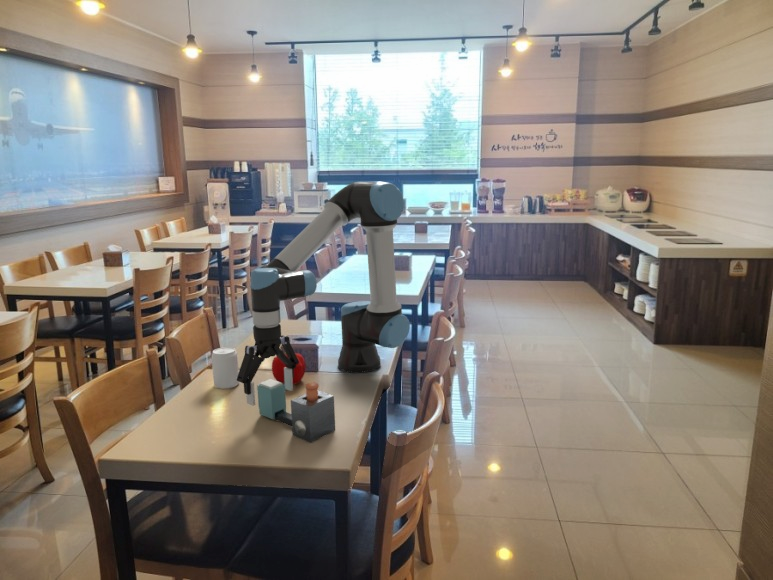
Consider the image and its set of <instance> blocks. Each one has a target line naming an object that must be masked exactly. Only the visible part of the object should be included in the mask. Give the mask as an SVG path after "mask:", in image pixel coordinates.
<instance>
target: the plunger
mask: <svg viewBox="0 0 773 580" xmlns="http://www.w3.org/2000/svg"><path fill="white" fill-rule="evenodd" d="M304 387H305V391H306V393H305V394H307V401H310V402H314V401H316V400H318V390H319V383H318V382H308V383H306V384H305V386H304Z"/></svg>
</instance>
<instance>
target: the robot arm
mask: <svg viewBox="0 0 773 580" xmlns="http://www.w3.org/2000/svg"><path fill="white" fill-rule="evenodd" d="M323 207H324V209H323V210H321V212H320V213H319V214H318V215H316V217H315V218H313V219H312V221H310V223H308V224H307V226H306V227H304V229H303V230H301V232H299V233H298V235H296V236H295V238H293V239H292V240H291V241H290V242H289V243H288V244H287V246H285V247H284V248H283V249H282V250H281V251H280V252H279V253H278V254H277V255H276V256H274V258H273V259H272V260H271V261H270V262H269V263H268V264H262V265H259V266H257V267H256V268H255V269H252V271H251V273H250V280H249V281H250V285H249V288H250V295H251V296H250V297H251V314H252V324H253V327H252V331H253V332H252V333H253V340H254V345H251V346H249V345H245V348H244V356H243V360H242V361H241V365H240V368H239V374H238V377H237V381H238V382H239V383H242V384H243V391H244V394H246V404H247V405H250V406H253V407H254V406H256V394H255V393H256V392H255V391H256V390H255V382H253V380H254V377H255V376H256V374H257V372H258V370H259V368H260V367H261V365H262V363H263V362H264V361H265V360H266V359H269V358H271V357H276V356H277V357H278V358H279V359H280V360H281V361H282V362H283V363H284V364H285V365H286V366H287V367H285V368H284V380H285V384H284V385H285V390H288V391H291V392H292V391H294V384H293V378H294V369H295V368H296V364H299V360H298V358H297V356H296V354H295V353H296V352H295V351H294V348H293V346H292V344H291V341H290V340H291V339H290V337H289V336H287V335H283V334H282V327H281V324H280V323H281V321H282V319H281V318H282V317H281V302H282V301H287V300H294V299H299V298H305V297H306V298H307V297H308V296H312V295H313V294H315V293H316V290H317V285H318V284H317V277H316V276H315V274H314V273H313V272H312V271H311V270H309V269H306V270H299V269H300V268H301V267H302V266H303V265H304V264H305V263H306V262H307V261H308V260H309V259H310V258H311V257H312V256H313V255H314V254H315V253H316V252H317V250H319V249H320V247H322V246H323V245H324V244H325V243H326V242H327V241H328V239H330V238H331V237H332V236H333V234H334V233H335V232H336V231H337V230H338V229H339V228H341V227H345V226H346V225H347V224H348V223H350V222H351V221H352V220H354V219H355V220H356V219H360V226H361V228H362V229H364V231H365V233H366V234H365V235H366V246H367V247H366V249H367V265H368V279H369V281H368V282H369V294H370V298H369V299H370V300H359V301H353V302H348V303H345V304H344V305H342V307H341V312H340V321H341V322H340V323H341V340H342V341H341V342H342V343H341V344H342V345H341V349H340V353H339V356H338V359H337V364H338V365H337V366H338V368H339V369H340V370H341V371H343V372H347V371H348V373H356V372H359V373H368V372H372V371H375V370H377V369H379V368H380V367H381V363H382V362H381V357H380V355H379V353H378V349H377V345H378V346H380V347H382V348H389V349H395V348H398V347H400V346H402V344H403V343H404V342H405V340H406V339H407V338H408V335H409V333H410V329H411V325H410V320H409V318H408V317H407V316H406V315H404V314H403V309H402V304H401V303H399V301H397V286H396V285H397V284H396V283H397V281H396V265H395V262H396V261H395V246H394V244H395V243H394V228H396V226H397V225H398V219H399V218H400V217H401V215H402V214H403V211H404V208H405V200H404V196H403V193H402V192H401V190H400V188H398V187H397V186H396V185H395V184H394V183H391V182H388V181H387V182H385V181H380V180H379V181H356V182H355V181H354V182H352V183H349V184H347V185H346V186H344V187H343V188H341V189H340V190H339V191H337V192H336V193H335V194H334V195H333V196H332V197H331V198H329V199H328V200H327V201H326V202H325V204H324V206H323ZM281 346H282V348H283V350H284V351H283V350H282V349H281V348H280V347H281ZM283 352H284V353H286V354H287V356H288V357H287V356H286V355H285V354H284V353H283Z"/></svg>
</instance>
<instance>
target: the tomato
mask: <svg viewBox="0 0 773 580" xmlns="http://www.w3.org/2000/svg"><path fill="white" fill-rule="evenodd" d="M283 353H284V354H285V355H286V356H287V354H286V352H285V351H283ZM295 354H296V356H297V358H298V360H299V364H296V368H295V369H294V378H293V385H297V384H299V383H300V382H301V381H302V379H303V378H304V375H305V373H306V361H305V358H304V357H303V355H302V354H301V353H297V352H295ZM287 357H288V356H287ZM285 367H287V366H286V365H285V364H284V363H283V362H282V361H281V360H280V359H279V358H278V357H277V356H276V355H275V356H274V358H273V359H272V363H271V372H272V376H273V378H274V380H275V381H278V382H281V383H282V384H284V385H285V380H284V368H285Z"/></svg>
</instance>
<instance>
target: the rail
mask: <svg viewBox="0 0 773 580" xmlns="http://www.w3.org/2000/svg"><path fill="white" fill-rule="evenodd" d="M274 420H276V421H277V422H280V423H282V424H284V425H287V426H289V427H292V415H291V412H290V413H289V412H287V411H286V412H284V411H282V410H280V411H277V412H275V419H274Z"/></svg>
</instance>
